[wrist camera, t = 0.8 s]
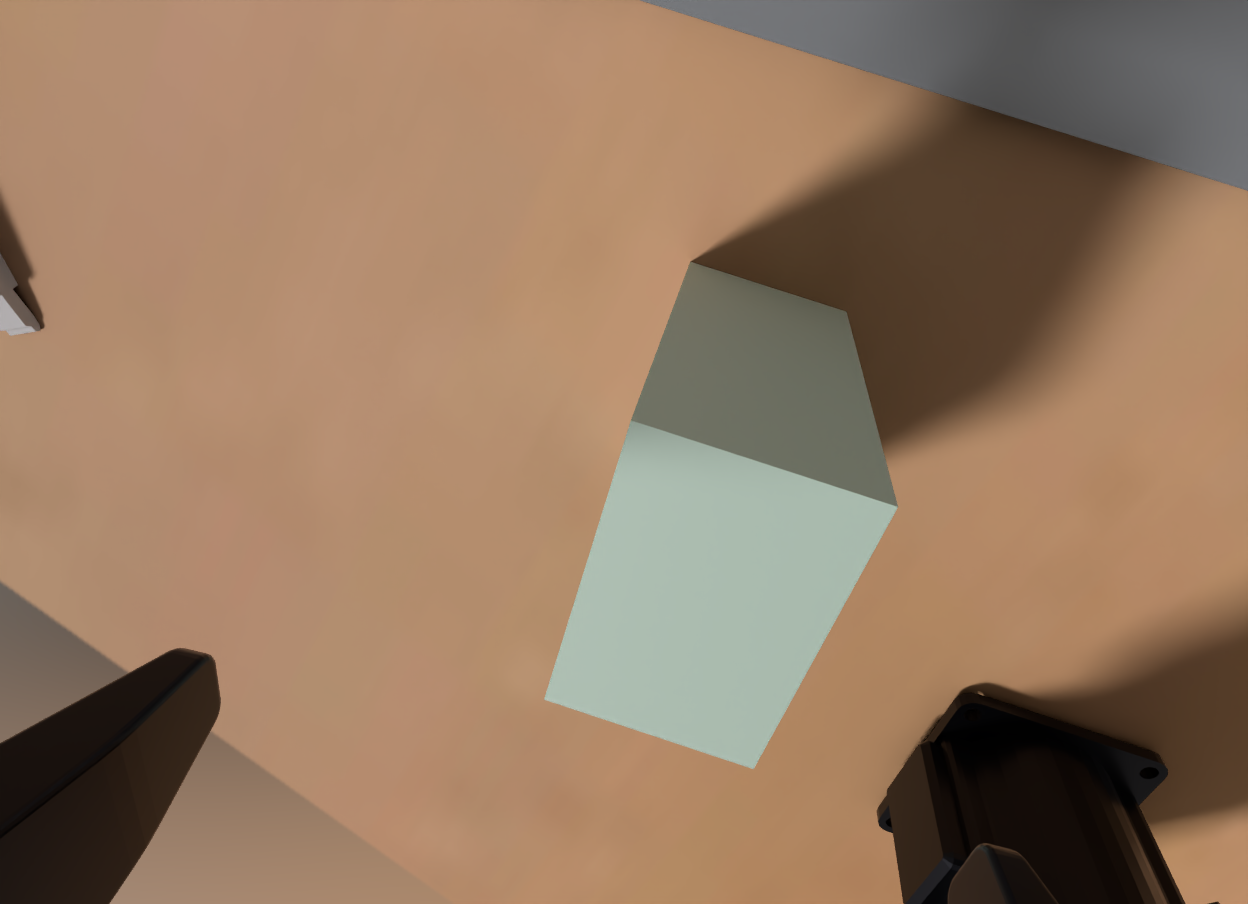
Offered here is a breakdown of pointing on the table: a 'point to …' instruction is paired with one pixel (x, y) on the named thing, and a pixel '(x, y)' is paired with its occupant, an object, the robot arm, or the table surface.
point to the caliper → (13, 306)
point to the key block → (728, 522)
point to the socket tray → (1045, 63)
